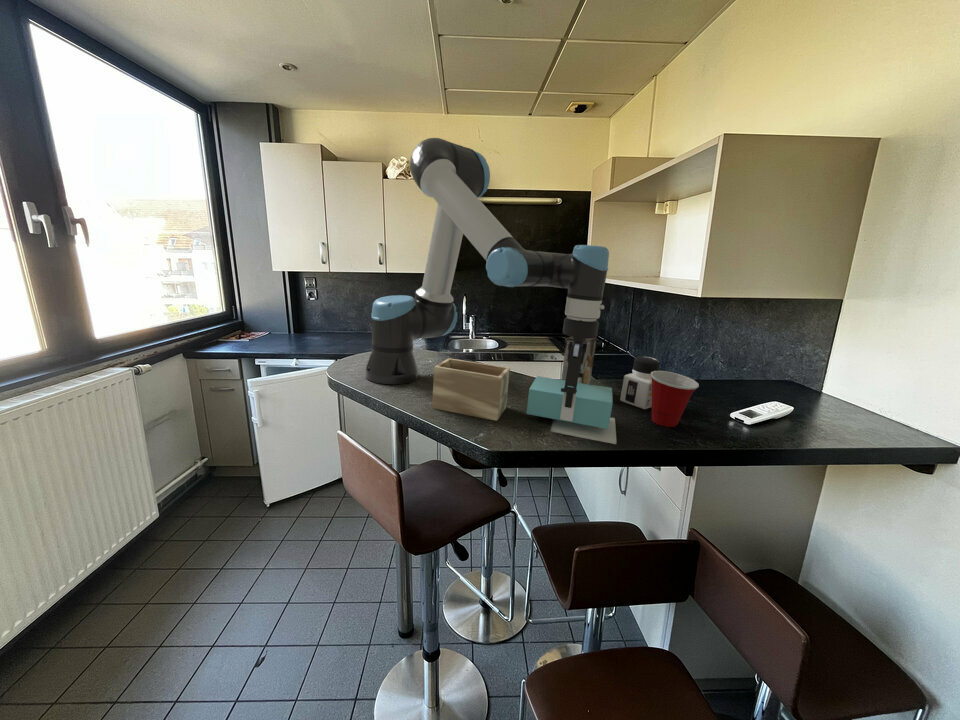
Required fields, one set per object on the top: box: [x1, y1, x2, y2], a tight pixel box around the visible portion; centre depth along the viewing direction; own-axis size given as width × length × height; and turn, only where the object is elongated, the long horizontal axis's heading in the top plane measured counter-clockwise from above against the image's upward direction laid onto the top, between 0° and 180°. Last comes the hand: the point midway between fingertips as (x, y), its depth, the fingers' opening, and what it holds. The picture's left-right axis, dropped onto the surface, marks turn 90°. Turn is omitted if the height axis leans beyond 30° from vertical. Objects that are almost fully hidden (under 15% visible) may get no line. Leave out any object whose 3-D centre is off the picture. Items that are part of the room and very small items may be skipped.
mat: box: [549, 417, 617, 445], centre depth 93 cm, size 14×22×1 cm, turn 73°
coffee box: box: [560, 336, 598, 385], centre depth 116 cm, size 9×6×16 cm
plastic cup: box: [650, 370, 700, 428], centre depth 96 cm, size 11×11×12 cm
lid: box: [525, 375, 614, 429], centre depth 92 cm, size 11×18×6 cm, turn 73°
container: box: [619, 356, 661, 410], centre depth 109 cm, size 8×8×13 cm
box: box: [431, 357, 511, 422], centre depth 95 cm, size 9×16×11 cm, turn 73°
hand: (568, 410), depth 93 cm, fingers closed on lid, 11 cm apart
